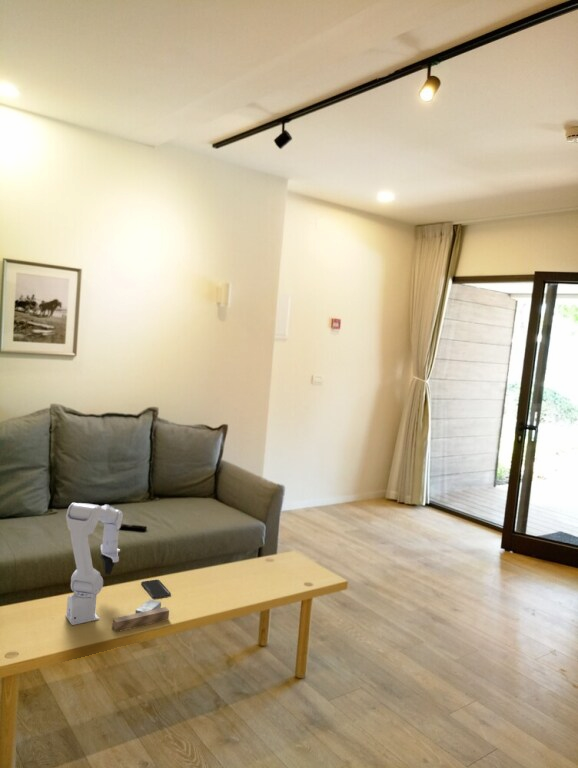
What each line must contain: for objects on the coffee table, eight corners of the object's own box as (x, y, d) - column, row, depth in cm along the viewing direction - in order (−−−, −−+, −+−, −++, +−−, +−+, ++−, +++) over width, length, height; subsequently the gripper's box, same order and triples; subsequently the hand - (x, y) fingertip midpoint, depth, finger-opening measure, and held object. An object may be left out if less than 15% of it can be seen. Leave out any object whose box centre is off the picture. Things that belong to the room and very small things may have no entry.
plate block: (147, 621, 202) (147, 613, 202) (135, 617, 204) (135, 610, 203) (160, 609, 212) (161, 601, 212) (148, 606, 213) (149, 599, 213)
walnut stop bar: (115, 632, 192) (116, 622, 192) (112, 628, 194) (112, 618, 194) (168, 619, 204) (169, 610, 204) (164, 615, 207) (165, 606, 206)
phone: (158, 579, 236) (171, 594, 223) (158, 581, 236) (171, 596, 223) (140, 581, 231) (152, 597, 219) (140, 584, 231) (152, 600, 219)
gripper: (127, 544, 212) (124, 579, 213) (113, 532, 223) (111, 565, 224) (109, 547, 207) (106, 582, 208) (96, 534, 219) (93, 567, 220)
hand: (107, 573), depth 216 cm, fingers closed
